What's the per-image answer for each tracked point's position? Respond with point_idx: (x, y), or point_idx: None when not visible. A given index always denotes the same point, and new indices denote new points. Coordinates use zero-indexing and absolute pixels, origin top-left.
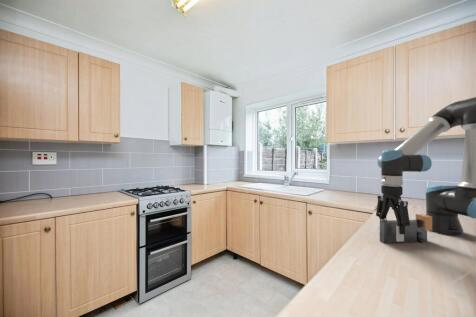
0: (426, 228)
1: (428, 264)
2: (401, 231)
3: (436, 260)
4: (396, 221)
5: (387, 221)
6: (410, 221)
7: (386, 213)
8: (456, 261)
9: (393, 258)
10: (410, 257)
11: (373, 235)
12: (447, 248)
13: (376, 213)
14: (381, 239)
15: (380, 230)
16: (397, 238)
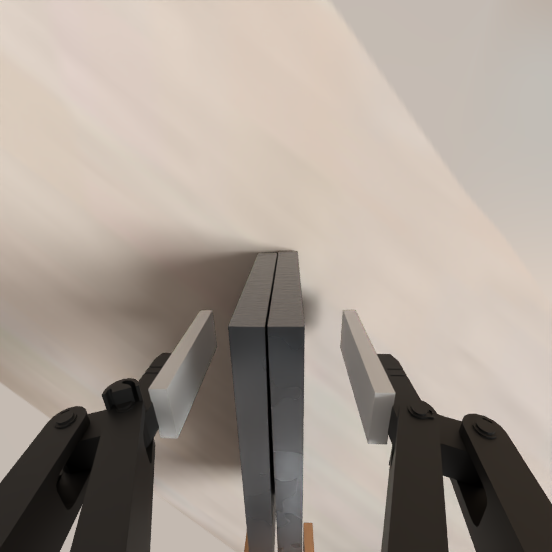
0: (246, 541)
1: (14, 277)
2: (151, 368)
3: (70, 344)
4: (259, 460)
5: (263, 385)
6: (257, 544)
7: (384, 519)
8: (79, 405)
9: (39, 142)
10: (77, 255)
11: (403, 285)
12: (205, 474)
13: (509, 448)
14: (280, 256)
15: (290, 279)
16: (196, 319)
